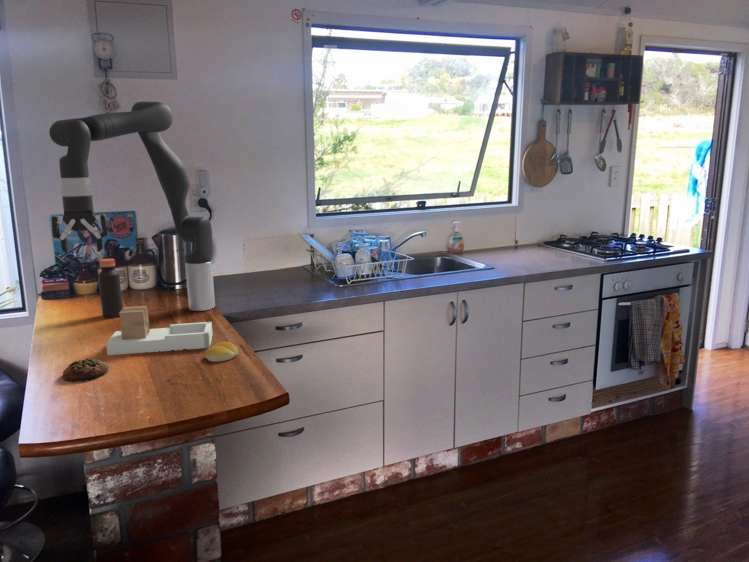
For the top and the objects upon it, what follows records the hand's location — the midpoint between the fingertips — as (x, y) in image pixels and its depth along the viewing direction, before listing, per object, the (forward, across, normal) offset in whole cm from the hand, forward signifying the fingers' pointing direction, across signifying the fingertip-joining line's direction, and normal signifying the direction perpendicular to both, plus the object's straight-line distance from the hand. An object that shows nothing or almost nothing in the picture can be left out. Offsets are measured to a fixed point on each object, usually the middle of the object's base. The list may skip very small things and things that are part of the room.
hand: (83, 252), depth 174 cm
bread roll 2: (+29, -37, +15) cm, 49 cm away
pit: (+29, -27, 0) cm, 39 cm away
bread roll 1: (+30, -2, +20) cm, 36 cm away
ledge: (+29, -13, 0) cm, 32 cm away
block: (+25, -12, 0) cm, 28 cm away
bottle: (+29, +2, -39) cm, 48 cm away
